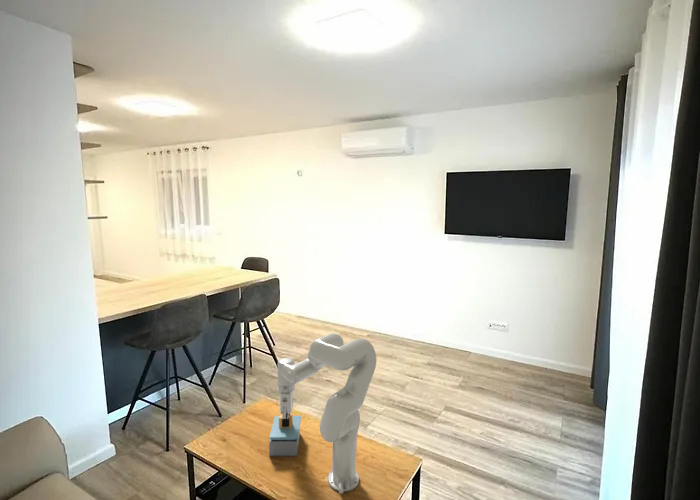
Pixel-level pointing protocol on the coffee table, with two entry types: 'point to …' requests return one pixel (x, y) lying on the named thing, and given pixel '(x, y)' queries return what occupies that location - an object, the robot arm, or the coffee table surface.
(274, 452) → the parts tub
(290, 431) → the tub lid
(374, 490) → the coffee table surface
